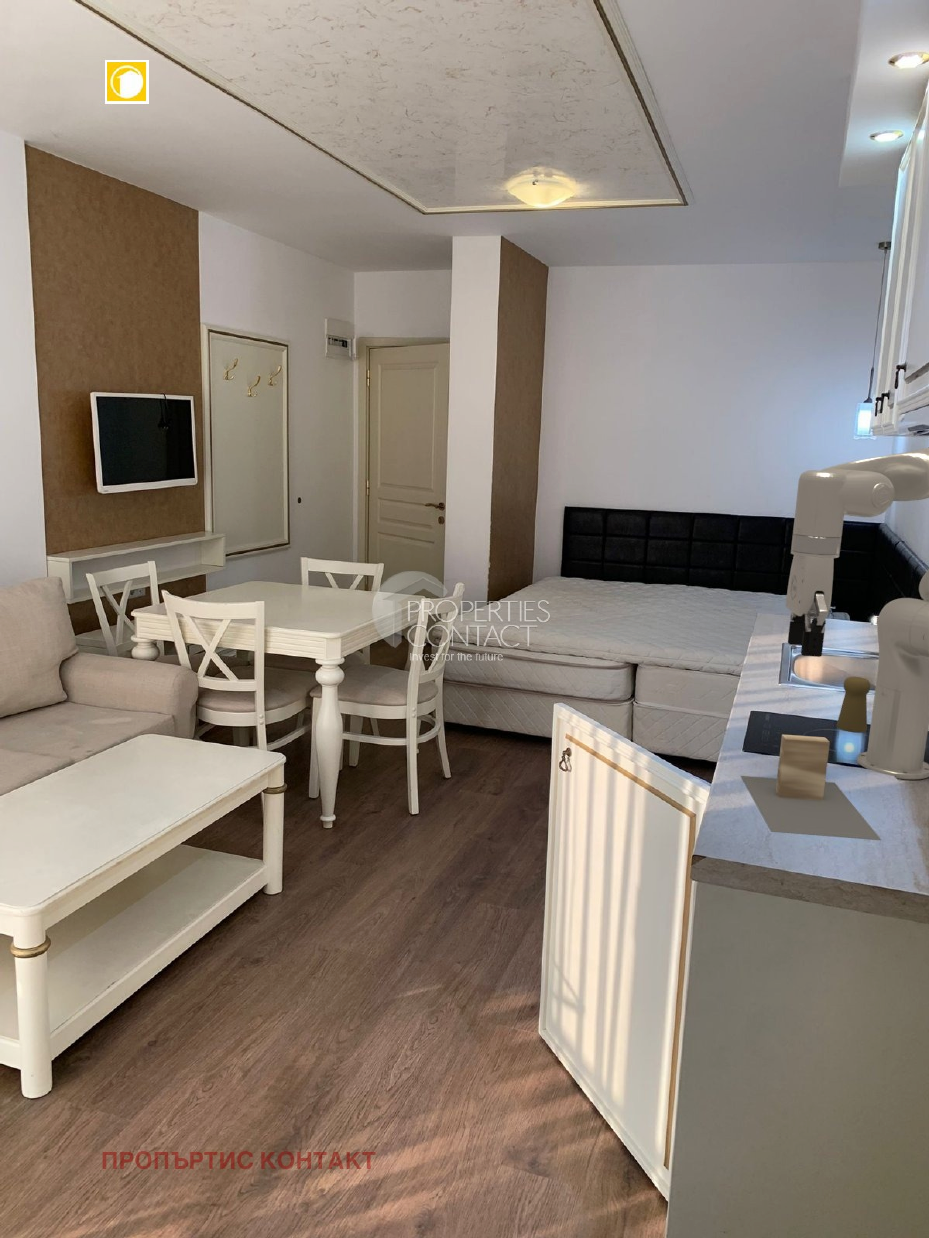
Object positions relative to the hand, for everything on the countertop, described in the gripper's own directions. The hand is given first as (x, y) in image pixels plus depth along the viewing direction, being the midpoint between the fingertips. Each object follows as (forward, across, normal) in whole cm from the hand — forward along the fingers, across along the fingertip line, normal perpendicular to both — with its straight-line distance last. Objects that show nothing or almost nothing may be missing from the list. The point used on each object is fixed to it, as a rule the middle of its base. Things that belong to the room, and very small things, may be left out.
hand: (804, 649), depth 157 cm
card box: (+23, +7, 0) cm, 24 cm away
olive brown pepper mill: (+24, -38, +22) cm, 50 cm away
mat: (+24, +11, 0) cm, 26 cm away
